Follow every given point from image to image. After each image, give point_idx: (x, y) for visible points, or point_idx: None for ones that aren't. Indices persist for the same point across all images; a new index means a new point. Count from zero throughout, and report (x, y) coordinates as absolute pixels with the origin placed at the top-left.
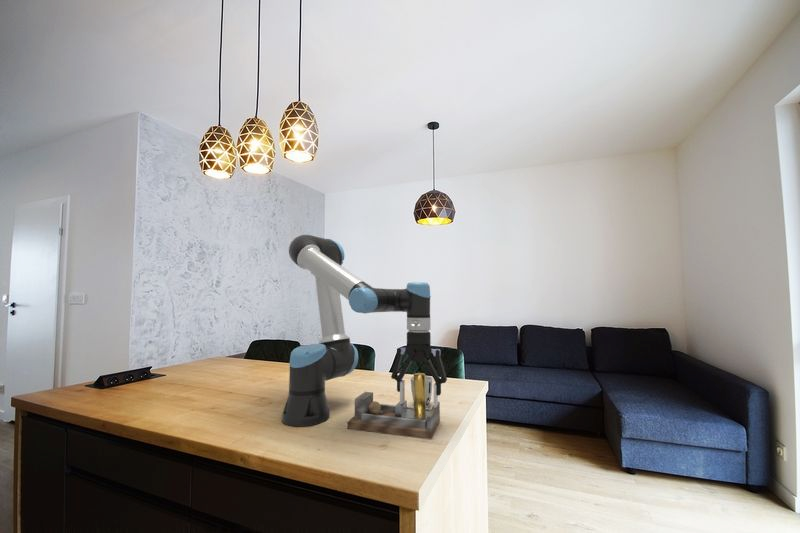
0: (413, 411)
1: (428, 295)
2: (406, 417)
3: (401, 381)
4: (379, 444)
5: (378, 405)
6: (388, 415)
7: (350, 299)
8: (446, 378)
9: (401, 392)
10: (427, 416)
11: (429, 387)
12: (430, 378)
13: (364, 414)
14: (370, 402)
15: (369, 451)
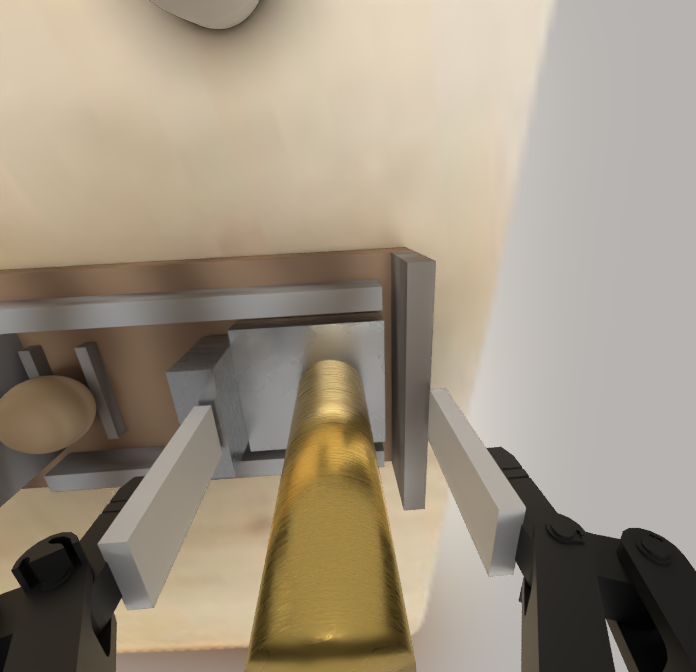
0: (280, 359)
1: None
2: (279, 446)
3: (125, 587)
4: (245, 523)
5: (65, 435)
6: (143, 361)
7: None
8: (683, 576)
9: (188, 515)
10: (407, 508)
11: None
12: None
13: (63, 486)
14: None
15: (241, 562)
